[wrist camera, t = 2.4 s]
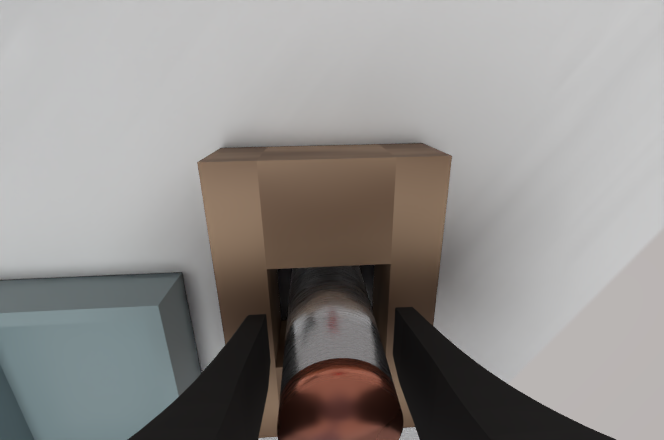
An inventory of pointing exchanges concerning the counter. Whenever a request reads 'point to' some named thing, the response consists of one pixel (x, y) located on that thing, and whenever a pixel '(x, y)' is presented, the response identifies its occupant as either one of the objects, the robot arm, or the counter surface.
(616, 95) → the counter surface
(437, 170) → the block
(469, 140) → the counter surface
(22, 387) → the tray
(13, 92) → the counter surface
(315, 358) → the spice jar
